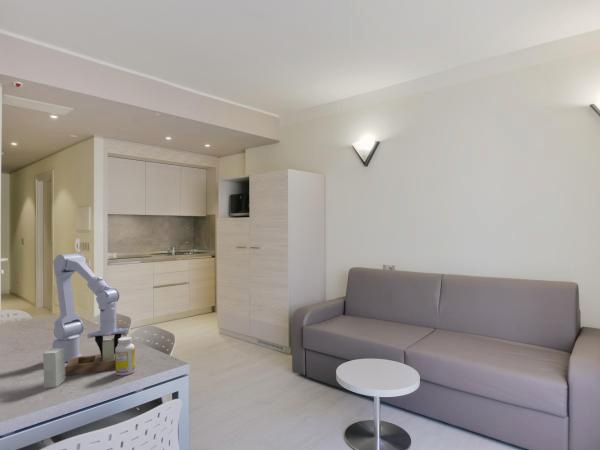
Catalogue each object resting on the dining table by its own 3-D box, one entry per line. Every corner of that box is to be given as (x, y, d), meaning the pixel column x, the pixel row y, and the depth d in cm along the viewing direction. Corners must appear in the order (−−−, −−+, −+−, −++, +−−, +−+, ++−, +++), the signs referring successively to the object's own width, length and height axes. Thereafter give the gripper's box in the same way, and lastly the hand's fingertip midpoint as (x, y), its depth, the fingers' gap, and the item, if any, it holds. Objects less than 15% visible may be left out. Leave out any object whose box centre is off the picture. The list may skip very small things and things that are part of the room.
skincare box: (53, 381, 136) (52, 347, 136) (65, 380, 137) (65, 347, 137) (43, 388, 130) (42, 353, 130) (56, 387, 131) (55, 352, 131)
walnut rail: (65, 375, 141) (65, 366, 141) (70, 366, 151) (70, 357, 151) (124, 367, 149) (124, 359, 149) (126, 358, 159) (126, 350, 159)
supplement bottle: (129, 368, 148) (129, 334, 148) (138, 371, 144) (138, 337, 144) (112, 373, 143) (111, 339, 143) (120, 377, 139) (120, 342, 139)
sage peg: (102, 362, 149) (102, 342, 149) (103, 359, 153) (103, 339, 153) (114, 361, 151) (113, 340, 151) (114, 358, 154) (114, 338, 154)
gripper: (86, 324, 145) (86, 359, 145) (127, 319, 151) (128, 354, 151) (88, 320, 152) (89, 354, 152) (128, 316, 157) (129, 349, 157)
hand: (108, 354), depth 152 cm, fingers closed on sage peg, 4 cm apart
